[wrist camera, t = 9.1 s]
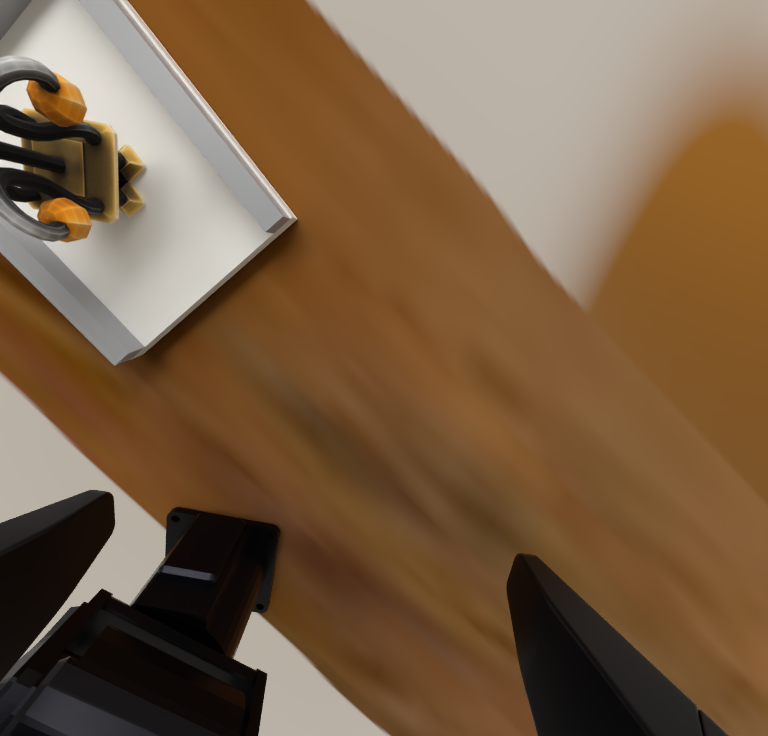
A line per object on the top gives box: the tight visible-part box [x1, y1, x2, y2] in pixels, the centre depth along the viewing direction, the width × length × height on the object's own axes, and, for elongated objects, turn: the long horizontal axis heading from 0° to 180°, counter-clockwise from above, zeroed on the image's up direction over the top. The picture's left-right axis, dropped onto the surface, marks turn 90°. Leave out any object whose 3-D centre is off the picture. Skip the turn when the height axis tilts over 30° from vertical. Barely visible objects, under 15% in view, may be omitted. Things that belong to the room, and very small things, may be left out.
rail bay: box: [0, 0, 297, 366], centre depth 16 cm, size 13×11×2 cm
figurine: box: [0, 56, 146, 243], centre depth 13 cm, size 5×5×8 cm
